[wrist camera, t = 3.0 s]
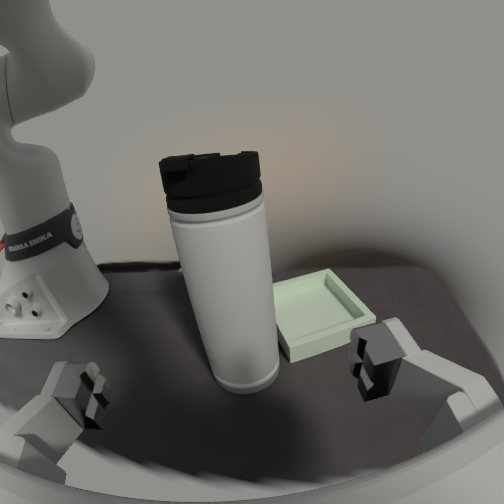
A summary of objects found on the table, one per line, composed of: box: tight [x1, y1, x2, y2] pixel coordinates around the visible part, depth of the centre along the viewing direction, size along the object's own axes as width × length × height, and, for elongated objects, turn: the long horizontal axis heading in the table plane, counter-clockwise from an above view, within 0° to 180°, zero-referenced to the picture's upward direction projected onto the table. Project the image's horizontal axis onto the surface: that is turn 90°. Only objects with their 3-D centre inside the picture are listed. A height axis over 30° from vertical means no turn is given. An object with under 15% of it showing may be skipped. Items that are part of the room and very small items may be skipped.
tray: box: [273, 269, 376, 363], centre depth 31 cm, size 9×10×2 cm
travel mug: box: [159, 151, 280, 394], centre depth 22 cm, size 6×7×20 cm
